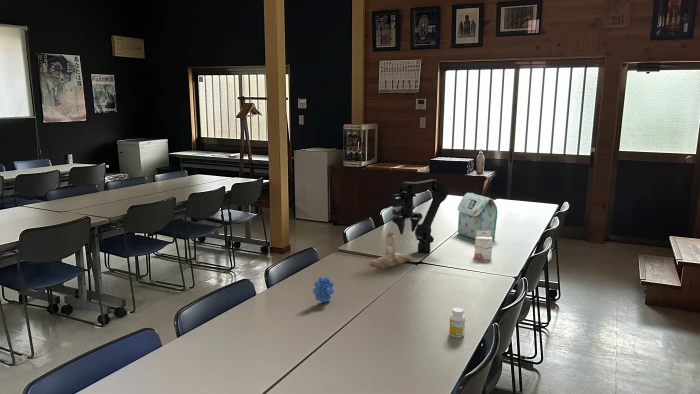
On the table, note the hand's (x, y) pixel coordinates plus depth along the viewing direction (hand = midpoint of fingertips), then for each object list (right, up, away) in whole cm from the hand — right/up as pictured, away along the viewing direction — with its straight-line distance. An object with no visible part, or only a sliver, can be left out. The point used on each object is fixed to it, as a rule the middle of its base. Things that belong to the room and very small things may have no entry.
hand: (407, 233), depth 278 cm
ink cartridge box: (+41, -14, -1) cm, 44 cm away
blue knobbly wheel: (-42, -26, -63) cm, 80 cm away
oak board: (-10, -15, -8) cm, 20 cm away
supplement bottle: (+8, -31, -91) cm, 96 cm away
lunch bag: (+48, -5, +42) cm, 64 cm away
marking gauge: (-10, -13, -9) cm, 19 cm away
